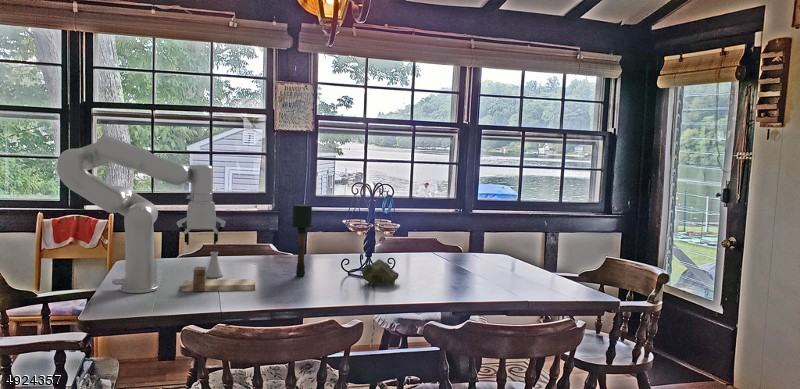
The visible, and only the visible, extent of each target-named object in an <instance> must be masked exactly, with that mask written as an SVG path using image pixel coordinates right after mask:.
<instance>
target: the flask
mask: <svg viewBox="0 0 800 389" xmlns="http://www.w3.org/2000/svg"><path fill="white" fill-rule="evenodd" d="M209 253H210V262H209V264H208V267H207V268H206V278H211V279H218V278H219V279H220V278H221V277H223V272H222V270H221V267H220V263H219V260H218V259H219V258H218V255H219V251H210V252H209Z"/></svg>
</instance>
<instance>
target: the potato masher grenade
mask: <svg viewBox="0 0 800 389" xmlns="http://www.w3.org/2000/svg"><path fill="white" fill-rule="evenodd" d="M312 212H313V206H312V205H311V204H304V203H303V204H302V203H301V204H299V203H298V204H293V205H292V224H291V228H296V229H297V264H296V272H295V275H296V277H304V276H305V275H306V269H305V246H306V245H305V243H306V233H307V232H306V231H307V228H309V229H310V228H312V227H313V225H312V220H313V219H312V216H313V213H312Z"/></svg>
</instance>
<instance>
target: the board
mask: <svg viewBox="0 0 800 389" xmlns="http://www.w3.org/2000/svg"><path fill="white" fill-rule="evenodd" d="M231 290H232V291H256V279H255V278H239V279H238V278H237V279H235V278H233V279H229V278H226V279H206V284H205V291H204V292H216V291H217V292H219V291H220V292H222V291H231ZM181 292H194V291H193V279H184V280H183V283H182V285H181Z"/></svg>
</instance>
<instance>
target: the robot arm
mask: <svg viewBox="0 0 800 389" xmlns="http://www.w3.org/2000/svg"><path fill="white" fill-rule="evenodd" d="M109 163H112V164H115V165H118V166H121V167H124V168H125V169H129V170H131V171H135V172H138V173H139V174H142V175H146V176H148V177H151V178H153V179H156V180H158V181H162V182H165V183H167V184H169V185H170V184H171V185H174V186H181V185H184V184H189V183H190V194H186V200H187V199H189V200H190V201H188V204H187V208H186V209H187V212H186V217H184V218H181V219H180V220H178V221H176V225H177V226H178V229H179V230H180V232H182V234H184V243H185V244H186V246H188V245H189V244H190V233H189V232H190V231H191V230H212V231H213V245H217V243H218V242H219V233H220V232H221V231H222V230H224V228H225V226H226V223H227V222H226V221H225V220H223V219H221V218H220V217H217V215H216V211H217V210H216V205H215V204H216V203H215V201H213V179H214V178H213V170H214V169H213V167H212V165H210V164H189V163H188V164H186V163H176V162H173V161H170V160H167V159H165V158H162V157H159V156H157V155H155V154H153V153H152V152H151V151H149V150H147V149H145V148H143V147H140V146H137V145H134V144H131V143H128V142H126V141H123V140H121V139H120V138H118V137H115V136H105V135H104V136H101V137H100V138H98V139H97V140H96V141H95V142H94V143H91V144H87V145H85V146H82V147H80V148H69V149H66V150H64V151H62V152H61V153H60V155H59V156H58V157H57V161H56V170H57V176H58V178H59V179H60V181H61V183H63V185H64V186H66V187H67V188H68V189H69V190H71V191H72V192H73V193H75V194H77V195H79V196H80V197H82V198H84V199H85V200H87V201H88V202H90V203H91V204H94V205H95V206H97V207H99V208H100V209H102V210H103V211H105V212H107V213H109V214H116V213H118V214H120V215H121V216H123V217H124V218H123V219H124V220H123V221H124V234H125V240H124V242H125V243H124V244H125V259H124V260H125V262H124V263H125V266H124V267H125V274H124V275H125V276H124V277H122V278H112V281H111V282H112V285H116V286H118V285H121V286H120V291H121V292H122V293H127V294H144V293H151V292H155V291H157V290H158V289H159V285H158V284H157V283H155V282H154V280H155V279H154V278H155V277H154V275H155V273H154V270H155V231H154V223H155V222H156V221H157V219H158V217H159V216H158V215H159V211H158V208H157V207H156V205H155V204H154V203H152V202H151V201H149V200H148V199H146V198H144V197H143V196H141V195H140V194H138V193H136V192H134V191H133V190H131V189H130V188H128V187H126V186H122V185H112V184H110V183H108V182H106V181H104V180H102V179H101V178H100V177H98V176H96V175H95V174H92V173H91V172H89V171H90V170H92V169H95V168H98V167H100V166H103V165H106V164H109ZM184 223H186V227H187V228H185V227H184V226H183V225H182V224H184ZM217 223H219V224H220V226H219V227H218V228H217V226H216V225H217Z"/></svg>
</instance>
